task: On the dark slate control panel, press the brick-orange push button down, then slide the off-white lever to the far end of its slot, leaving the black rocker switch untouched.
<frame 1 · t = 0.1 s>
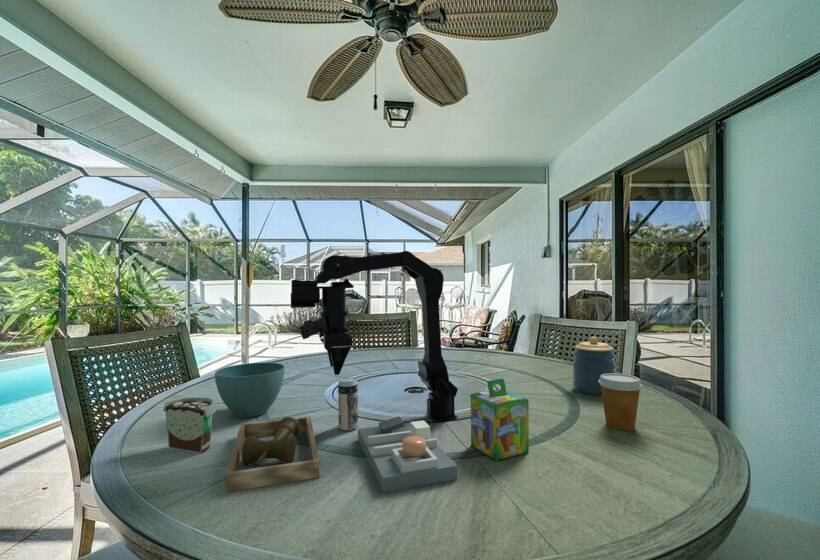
hand: (334, 370, 97), 15 cm above the table, tool pointing down, fingers open, 9 cm apart
plant pot: (251, 413, 111), on the table
disposable coffee cup: (620, 426, 98), on the table
canister: (594, 391, 129), on the table
chalk box: (499, 450, 86), on the table
control panel: (402, 457, 82), on the table
kendama: (275, 456, 84), resting in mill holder
rocker switch: (391, 424, 90), point 4 cm above the table, hinge at 12.0°
push button: (414, 445, 74), point 5 cm above the table, slide at 0.0 cm
slider knob: (420, 432, 83), point 5 cm above the table, slide at 0.0 cm
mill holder: (275, 454, 84), on the table
food container: (196, 446, 89), on the table
beer can: (348, 428, 99), on the table
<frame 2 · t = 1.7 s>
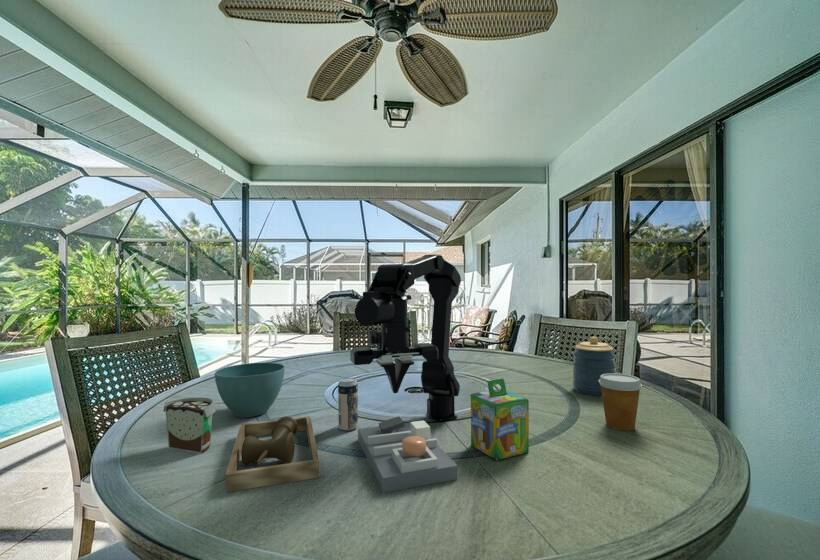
hand: (395, 392, 87), 12 cm above the table, tool pointing down, fingers closed
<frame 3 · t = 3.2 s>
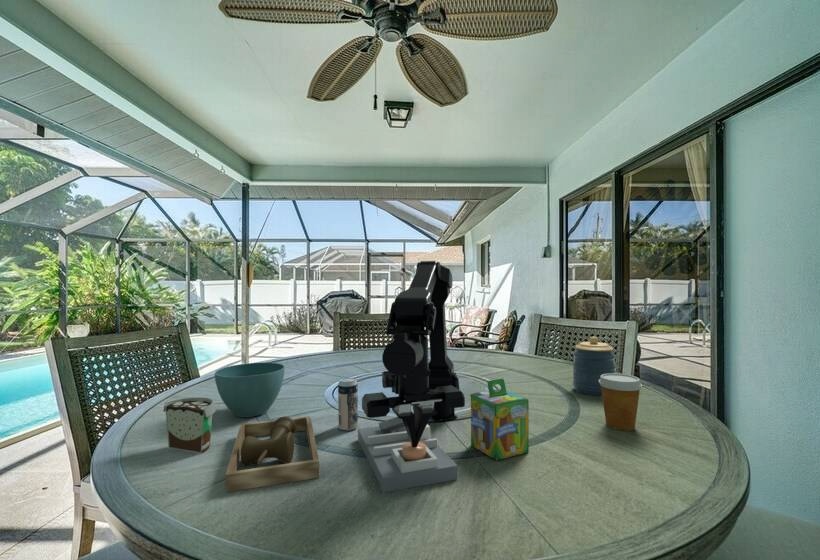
hand: (414, 446, 74), 5 cm above the table, tool pointing down, fingers closed, pressing on push button
push button: (414, 451, 74), point 4 cm above the table, slide at 1.1 cm, touching gripper
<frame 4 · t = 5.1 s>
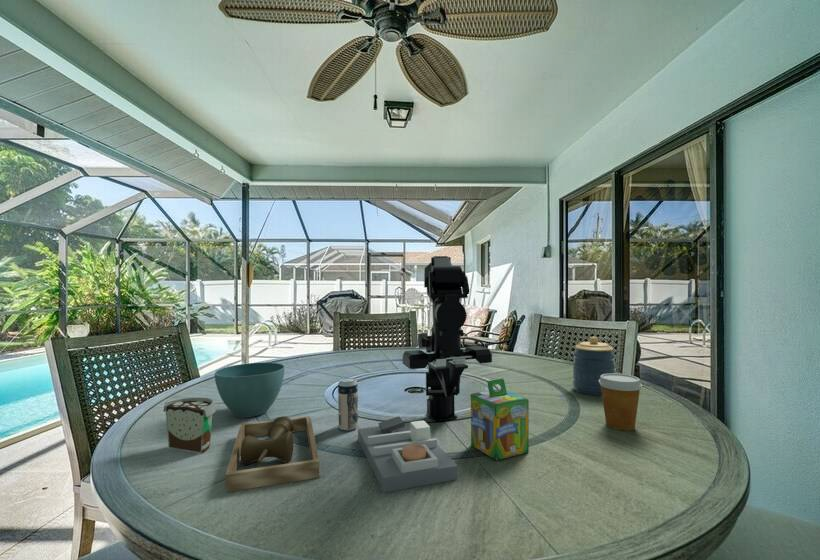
hand: (447, 396, 85), 11 cm above the table, tool pointing down, fingers closed
push button: (414, 454, 74), point 4 cm above the table, slide at 1.6 cm
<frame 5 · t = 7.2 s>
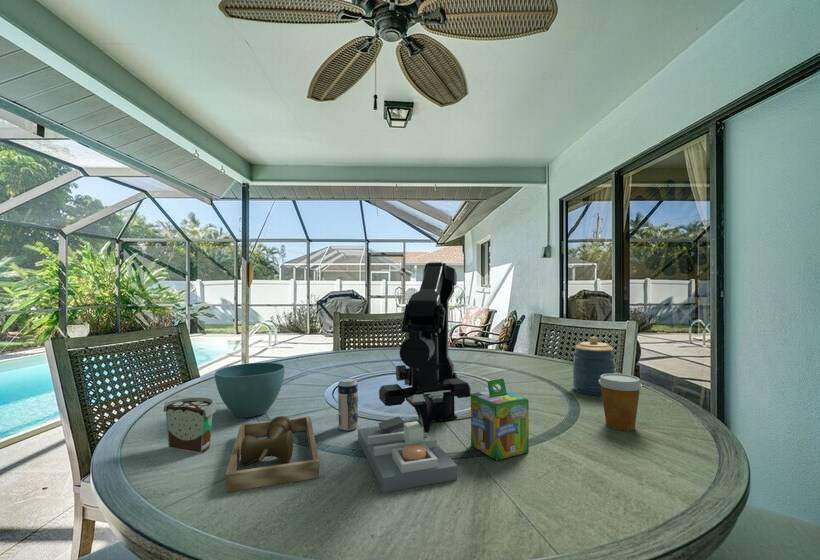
hand: (425, 432, 83), 5 cm above the table, tool pointing down, fingers closed
slider knob: (413, 433, 83), point 5 cm above the table, slide at 1.5 cm, touching gripper
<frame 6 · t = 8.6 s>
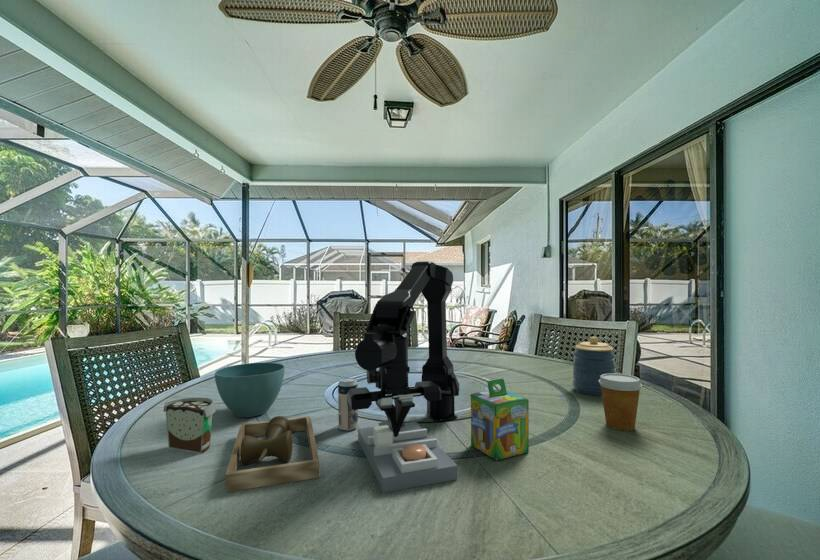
hand: (395, 436, 81), 5 cm above the table, tool pointing down, fingers closed
slider knob: (382, 437, 81), point 5 cm above the table, slide at 8.1 cm, touching gripper
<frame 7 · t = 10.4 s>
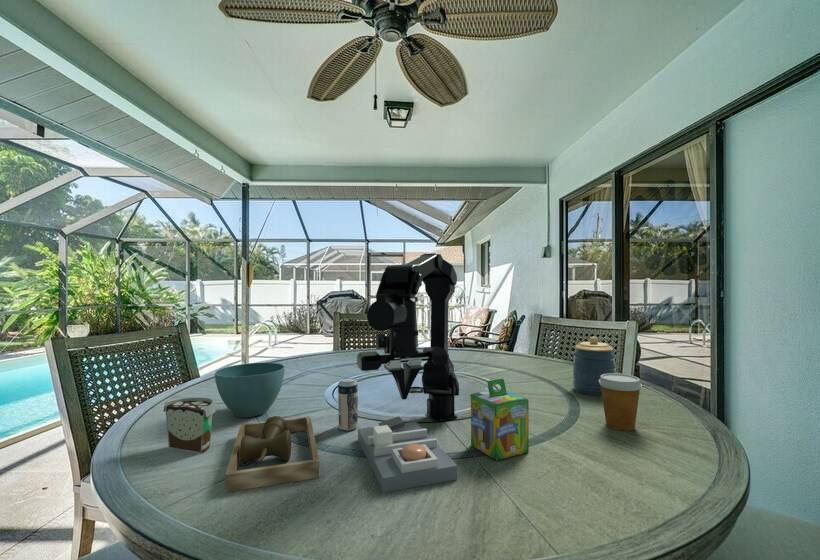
hand: (403, 398, 83), 12 cm above the table, tool pointing down, fingers closed
slider knob: (382, 437, 81), point 5 cm above the table, slide at 8.1 cm
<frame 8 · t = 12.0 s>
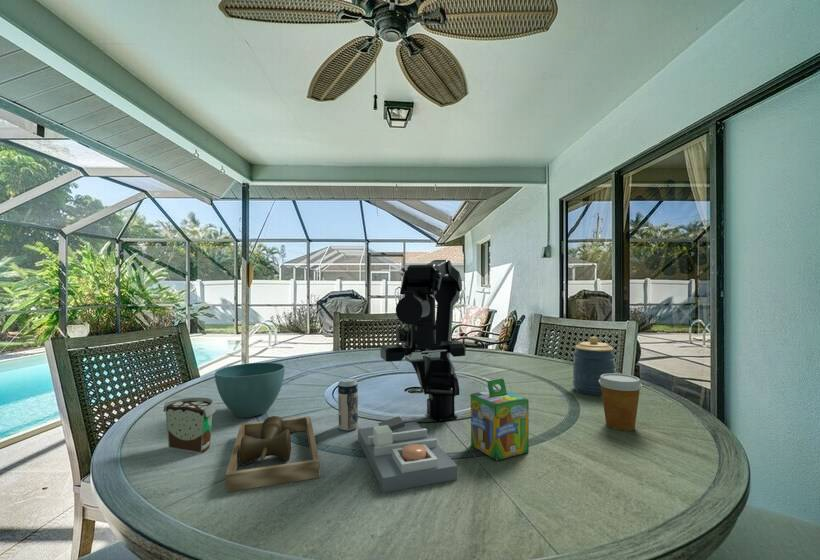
hand: (423, 388, 90), 12 cm above the table, tool pointing down, fingers closed
at the end: push button slide at 1.6 cm; slider knob slide at 8.1 cm; rocker switch at +12° (first picture: +12°) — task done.
